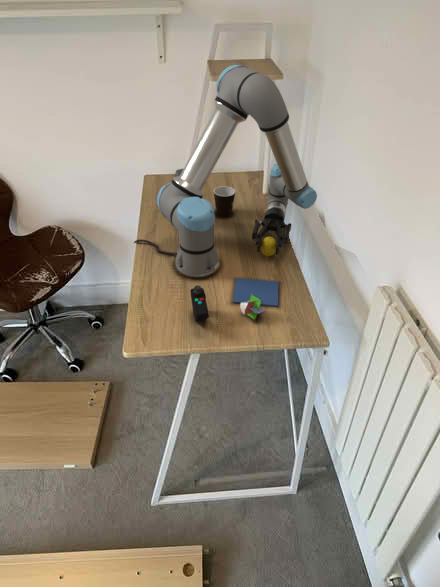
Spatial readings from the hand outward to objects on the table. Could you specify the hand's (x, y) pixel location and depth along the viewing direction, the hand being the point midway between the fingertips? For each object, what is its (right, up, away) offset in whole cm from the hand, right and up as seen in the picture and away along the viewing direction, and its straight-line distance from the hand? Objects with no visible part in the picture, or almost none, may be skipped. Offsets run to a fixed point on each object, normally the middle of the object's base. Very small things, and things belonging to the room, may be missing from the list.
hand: (267, 250), depth 147 cm
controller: (-22, -23, -17) cm, 36 cm away
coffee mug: (-13, +19, +32) cm, 40 cm away
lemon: (+1, -1, +8) cm, 8 cm away
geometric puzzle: (-6, -21, -15) cm, 27 cm away
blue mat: (-4, -14, -7) cm, 16 cm away
